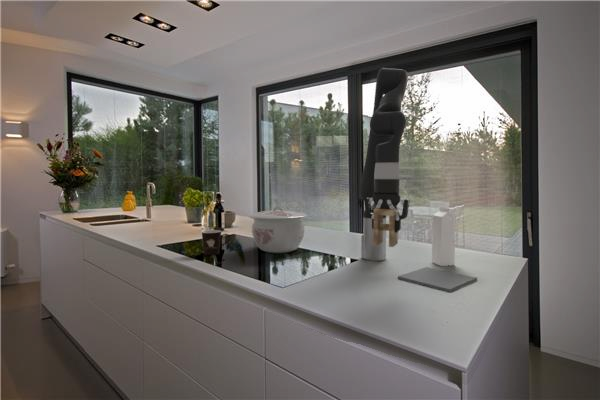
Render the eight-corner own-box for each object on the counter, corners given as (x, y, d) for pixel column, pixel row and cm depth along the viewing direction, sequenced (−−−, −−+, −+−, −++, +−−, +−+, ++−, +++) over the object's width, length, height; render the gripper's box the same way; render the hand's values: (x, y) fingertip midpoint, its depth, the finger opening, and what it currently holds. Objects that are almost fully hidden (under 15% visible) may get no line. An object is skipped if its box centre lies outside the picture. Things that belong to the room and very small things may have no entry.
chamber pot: (301, 258, 146) (301, 209, 145) (240, 255, 152) (239, 208, 150) (312, 245, 173) (312, 204, 172) (260, 243, 179) (259, 203, 178)
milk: (440, 266, 132) (441, 208, 130) (431, 262, 138) (432, 207, 136) (454, 265, 133) (456, 208, 131) (445, 261, 139) (446, 206, 137)
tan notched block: (373, 245, 108) (373, 209, 107) (379, 241, 113) (379, 207, 112) (392, 247, 105) (393, 210, 104) (397, 243, 110) (398, 207, 109)
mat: (397, 278, 116) (397, 276, 116) (426, 269, 128) (426, 267, 128) (449, 292, 102) (449, 289, 102) (476, 280, 114) (477, 277, 114)
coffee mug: (198, 255, 154) (197, 232, 153) (208, 251, 162) (208, 229, 161) (221, 256, 150) (221, 233, 149) (231, 252, 158) (230, 230, 158)
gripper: (413, 177, 107) (412, 231, 109) (368, 177, 114) (367, 227, 115) (408, 178, 101) (406, 235, 102) (360, 177, 108) (359, 231, 109)
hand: (385, 231), depth 109 cm, fingers closed on tan notched block, 6 cm apart
